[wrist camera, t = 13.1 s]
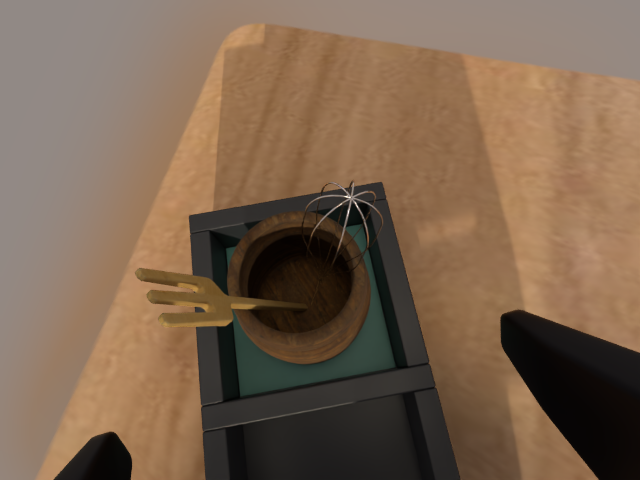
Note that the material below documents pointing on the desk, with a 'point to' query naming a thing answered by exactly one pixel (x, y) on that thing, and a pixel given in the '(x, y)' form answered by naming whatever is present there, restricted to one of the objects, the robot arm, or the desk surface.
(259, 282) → the utensil holder
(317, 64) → the desk surface
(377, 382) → the organiser
